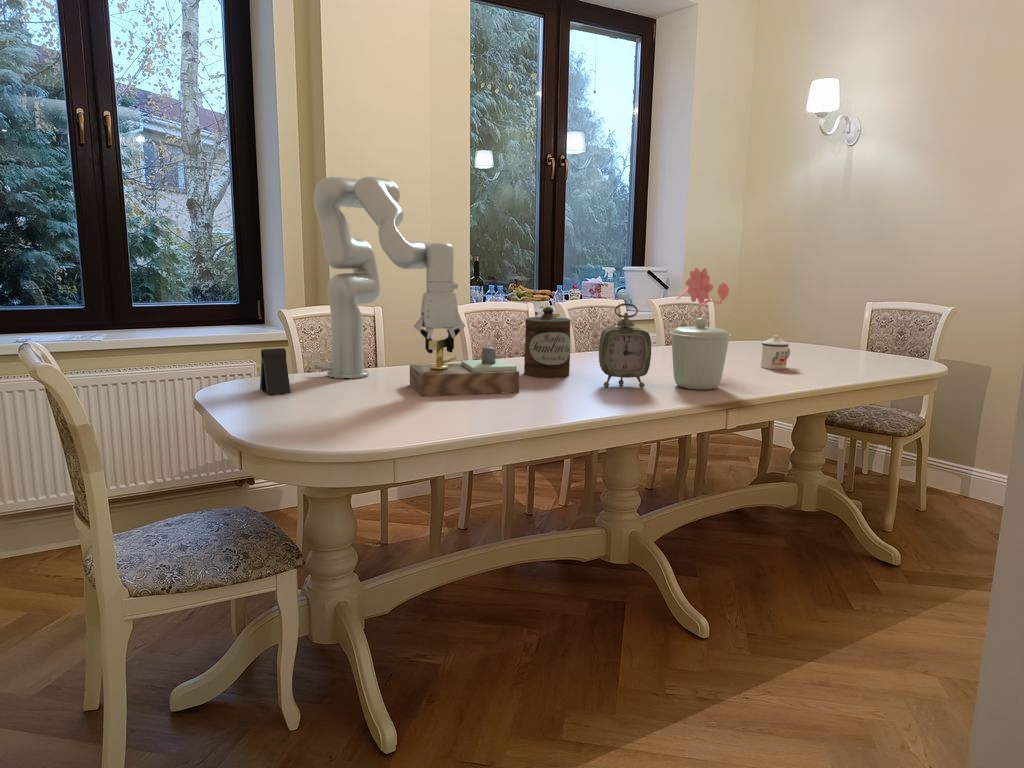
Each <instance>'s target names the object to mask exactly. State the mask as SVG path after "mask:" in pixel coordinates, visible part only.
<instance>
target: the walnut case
mask: <svg viewBox="0 0 1024 768" xmlns="http://www.w3.org/2000/svg"><path fill="white" fill-rule="evenodd" d="M431 365H436V363H427V364H426V363H425V364H424V363H423V364H419V363H417V364H409V386H410V387H411V388H412V389H414V391H415V392H417V393H418V395H420V397H421V398H422V397H424V396H426V397H443V396H442V395H450V396H463V395H462V394H474V395H486V394H485V393H497V394H503V393H502V392H519V393H520V371H519V370H518V369H517V370H512V371H482V372H472V371H471V370H469V369H468V368H466V367H464V366H463V365H461V362H457V363H444V364H443V365H448V366H449V369H447V370H433V369H431ZM440 395H441V396H440Z"/></svg>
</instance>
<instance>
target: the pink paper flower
mask: <svg viewBox="0 0 1024 768" xmlns="http://www.w3.org/2000/svg"><path fill="white" fill-rule="evenodd" d="M689 276H690V277H689V278H688V279H687V280H685V285H686V286H687V288H686V289H685V290H683V292H681V293H680V294H679V295H678V297H677V298H676V300H679V299H681V297H683V296H684V295H685V294H686V293H687V294H688V295H690V300H691V302H692V303H694V302H696V301H698V304H699V306H698V308H697V310H698V311H697V312H698V315H699V316H698V317H699V318H702V315H701V311H700V308H702V307H703V306H705V305H707V303H710V302H711V303H715V304H719V305H722V304H723V301H725V299H726V298H727V297H728V295H729V292H730V288H729V286H728V285H727V284H726V283H725V282H721V283H720V285H719V286H718V287H717V295H718V297H719V298H720V301H717V300H712V299H711V298H710V297H709V295H710V294H709V293H710V292H712V290H713V288H714V285H713V284H712V283H710V279H711V277H710V276H709V275H708V270H707V268H705V267H704V268H703V269H702V270H701V271H700V269H699V268H697V267H695V268H694V270H691V271H689ZM705 327H707V325H706V326H705Z"/></svg>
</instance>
